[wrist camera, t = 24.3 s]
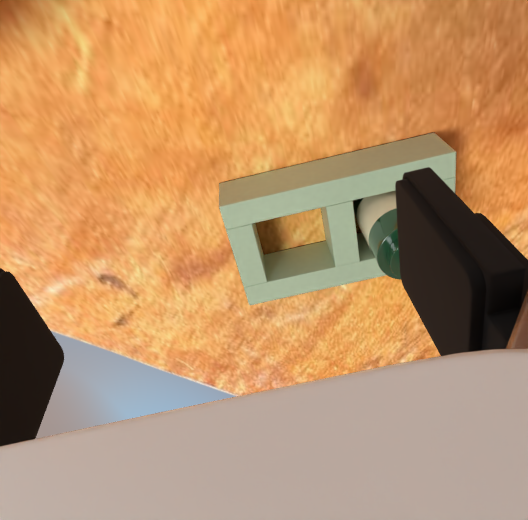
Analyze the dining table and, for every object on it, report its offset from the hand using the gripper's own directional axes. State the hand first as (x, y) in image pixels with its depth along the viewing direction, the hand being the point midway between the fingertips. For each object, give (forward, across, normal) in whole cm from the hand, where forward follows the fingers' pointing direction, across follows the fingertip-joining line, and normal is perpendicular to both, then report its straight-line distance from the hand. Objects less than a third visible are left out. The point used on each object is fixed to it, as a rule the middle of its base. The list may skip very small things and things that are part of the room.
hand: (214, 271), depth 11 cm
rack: (+28, -7, +16) cm, 33 cm away
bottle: (+28, -11, +16) cm, 34 cm away
